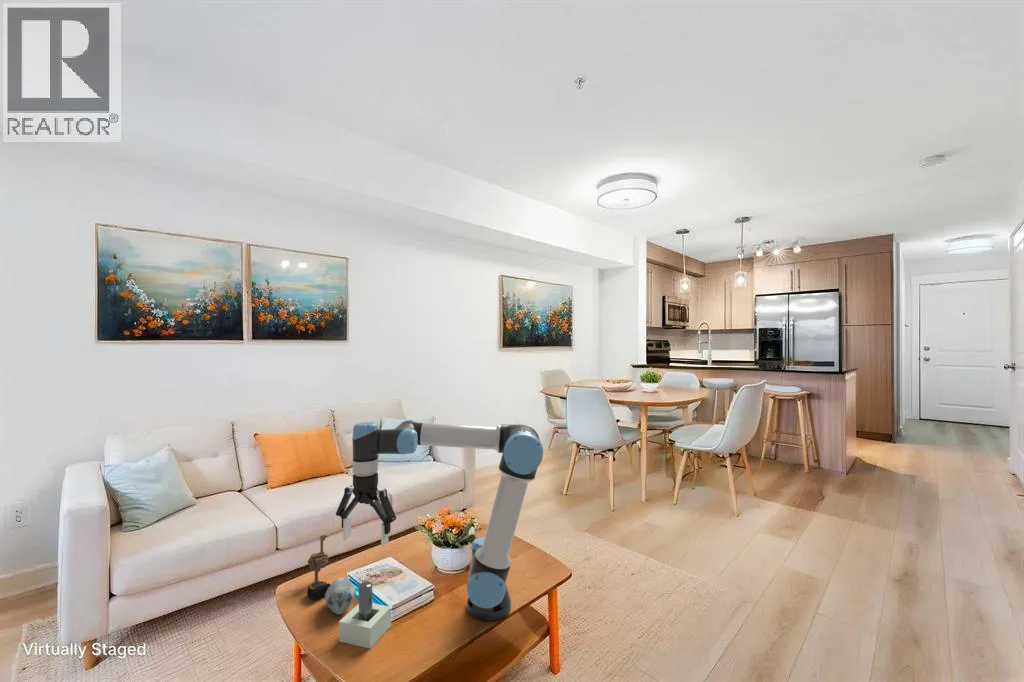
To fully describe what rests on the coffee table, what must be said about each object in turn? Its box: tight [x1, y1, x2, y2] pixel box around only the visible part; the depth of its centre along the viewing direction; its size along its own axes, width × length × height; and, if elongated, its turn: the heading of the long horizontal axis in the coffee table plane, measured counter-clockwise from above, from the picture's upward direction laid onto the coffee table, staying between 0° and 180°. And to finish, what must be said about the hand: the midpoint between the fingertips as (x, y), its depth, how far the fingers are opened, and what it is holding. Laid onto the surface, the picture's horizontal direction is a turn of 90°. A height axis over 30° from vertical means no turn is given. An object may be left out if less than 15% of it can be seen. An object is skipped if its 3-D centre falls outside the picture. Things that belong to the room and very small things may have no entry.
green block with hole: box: [338, 602, 392, 650], centre depth 137 cm, size 11×11×6 cm
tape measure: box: [307, 580, 332, 600], centre depth 157 cm, size 7×7×4 cm
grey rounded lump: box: [324, 577, 356, 615], centre depth 150 cm, size 14×10×10 cm
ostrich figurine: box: [278, 534, 329, 595], centre depth 162 cm, size 17×7×18 cm, turn 121°
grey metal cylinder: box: [358, 581, 373, 622], centre depth 137 cm, size 4×4×15 cm
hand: (365, 541), depth 137 cm, fingers open, 13 cm apart
